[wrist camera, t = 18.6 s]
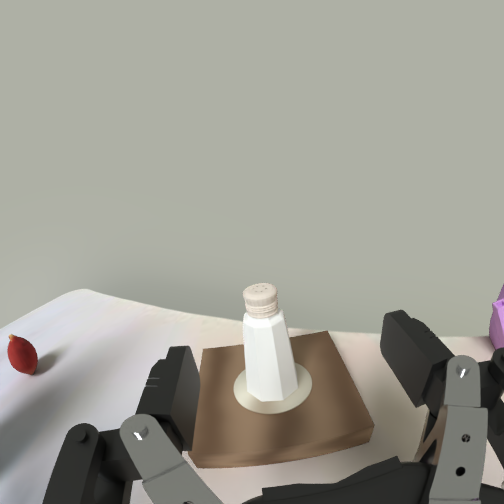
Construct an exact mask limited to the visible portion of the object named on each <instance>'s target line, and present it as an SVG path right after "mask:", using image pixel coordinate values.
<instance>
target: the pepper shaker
mask: <svg viewBox="0 0 504 504" xmlns="http://www.w3.org/2000/svg"><path fill="white" fill-rule="evenodd" d="M243 297H244V299H245V304H246V309H247V312H246V313H245V314H244V319H243V338H244V353H245V367H246V381H247V392H249V393H250V394H252V395H253V396H254V397H256V398H257V399H259V400H260V401H262V402H266V401H281V400H284V399H285V398H287V397H288V396H289V395H290V394H292V393H293V392H294V391H295V390H296V389H298V381H297V372H296V368H295V363H294V358H293V353H292V348H291V343H290V338H289V334H288V329H287V324H286V320H285V315H284V312H283V310H281V309H279V308H278V306H277V305H278V302H277V288H276V287H275V286H274V285H272V284H267V283H260V284H254V285H251V286H249V287H248V288H246V289H245V290H244V292H243Z"/></svg>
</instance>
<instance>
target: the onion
mask: <svg viewBox="0 0 504 504" xmlns="http://www.w3.org/2000/svg"><path fill="white" fill-rule="evenodd" d="M9 338H10V342H9V345H8V357H9V361H10V363H11V365H12V366H13V368H15V369H16V370H17V371H19V372H22V373H26V374H30V375H32V374H33V373H34V371H35V369H36V367H37V362H38V357H37V353H36V350H35V348H34V347H33V345H32V344H31V343H30V342H29V341H27V340H26V339H24V338H21V337H17V336H14V335H12V334H11V335H9Z"/></svg>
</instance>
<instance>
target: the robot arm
mask: <svg viewBox="0 0 504 504" xmlns="http://www.w3.org/2000/svg"><path fill="white" fill-rule="evenodd" d="M380 348H381V353H382V355H383V357H384V359H385V360H386V362H387V363H388V365H389V366H390V368H391V369H392V371H393V372H394V374H395V375H396V377H397V379H398V380H399V382H400V383H401V385H402V386H403V388H404V390H405V391H406V393H407V394H408V396H409V398H410V399H411V401H412V403H413V404H414V406H415V407H416V408H417V407H419V406H421V405H424V404H426V405H427V407H428V408H429V409H428V411H427V415H426V420H425V424H424V429H423V433H422V437H421V441H420V444H419V448H418V451H417V453H416V455H415V457H414V459H413V461H412V462H400V461H399V459H398V456H395V457H393V458H390V459H388V460H385V461H382V462H379V463H376V464H373V465H371V466H367V467H366V468H364V469H362V470H360V471H358V472H357V473H355V474H353V475H351V476H349V477H347V478H345V479H343V480H341V481H339V482H337V483H332V484H291V485H285V486H277V487H268V488H262V494H263V495H261V496H258V497H255V498H252V499H250V500H248V501H246V502H244V503H242V504H504V481H503V482H502V485H501V488H502V489H501V488H498V487H494V486H490V485H487V484H483V483H481V481H482V475H483V468H484V461H485V453H486V442H487V439H488V441H489V443H490V444H491V446H492V448H493V450H494V451H495V453H496V455H497V457H498V459H499V461H500V463H501V465H502V467H503V469H504V403H503V401H502V400H501V396H502V395H503V393H504V347H502V348H498V349H496V350H495V351H494V353H493V356H492V358H491V360H489V361H484V362H479V363H477V362H476V361H475V360H474V359H473V358H471V357H469V356H465V355H458V356H455V355H454V354H453V353H452V352H451V351H450V350H449V349H448V348H447V347H446V346H445V345H444V344H443V343H442V342H441V340H440V339H439V338H438V337H436V336H435V334H434V333H433V332H432V331H430V329H429V328H428V327H427V326H426V325H425V324H424V323H423V322H421V321H419V320H417V319H415V318H412V319H411V318H410V317H409V316H408V315H407V314H406V312H405V311H403V310H398V311H394V312H390V313H386V314H385V316H384V320H383V327H382V334H381V341H380ZM199 393H200V376H199V372H198V369H197V366H196V363H195V360H194V357H193V354H192V351H191V349H190V347H189V346H175V347H170V348H169V351H168V354H167V357H166V359H159V361H158V362H157V363H156V364H155V365H154V366H153V367H152V368H151V371H150V374H149V377H148V379H147V382H146V387H145V388H144V390H143V393H142V396H141V399H140V402H139V405H138V408H137V411H136V414H135V415H133V416H131V417H129V418H128V419H126V420H125V421H124V422H123V424H122V425H121V427H120V428H119V429H115V430H109V431H102V432H98V430H97V429H96V428H95V427H94V426H93V425H91V424H87V423H81V424H78V425H75V426H74V427H72V428H71V429H70V430H69V431H68V433H67V435H66V437H65V440H64V442H63V445H62V447H61V450H60V453H59V455H58V458H57V461H56V463H55V466H54V469H53V472H52V475H51V478H50V481H49V484H48V487H47V490H46V493H45V497H44V500H43V503H42V504H129V503H130V496H131V490H132V484H133V480H141V479H143V482H142V485H143V487H144V489H145V491H146V492H147V494H148V496H149V497H150V499H151V500H152V502H153V503H154V504H224V503H223V502H222V501H221V500H220V499H219V498H218V497H217V496H216V495H215V494H214V493H213V492H212V491H211V490H210V489H209V487H208V486H207V485H206V484H205V483H204V482H203V481H202V479H201V478H200V477H199V476H198V475H197V474H196V472H195V471H194V470H193V469H192V467H191V466H190V465H189V464H188V463H187V461H185V459H184V458H183V457H182V451H192V446H193V438H194V430H195V422H196V415H197V407H198V400H199Z"/></svg>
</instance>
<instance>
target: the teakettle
mask: <svg viewBox="0 0 504 504" xmlns="http://www.w3.org/2000/svg"><path fill="white" fill-rule="evenodd" d="M492 306H493V314H492V317H491V320H490V328H489V335H490V339H491V341H492V343H493V345H494V347H495V349H498V348H502V347H504V285H503V287H502V289H501V292H500V294H499V297H498V299H497V301H496V302H494V303H492Z"/></svg>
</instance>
